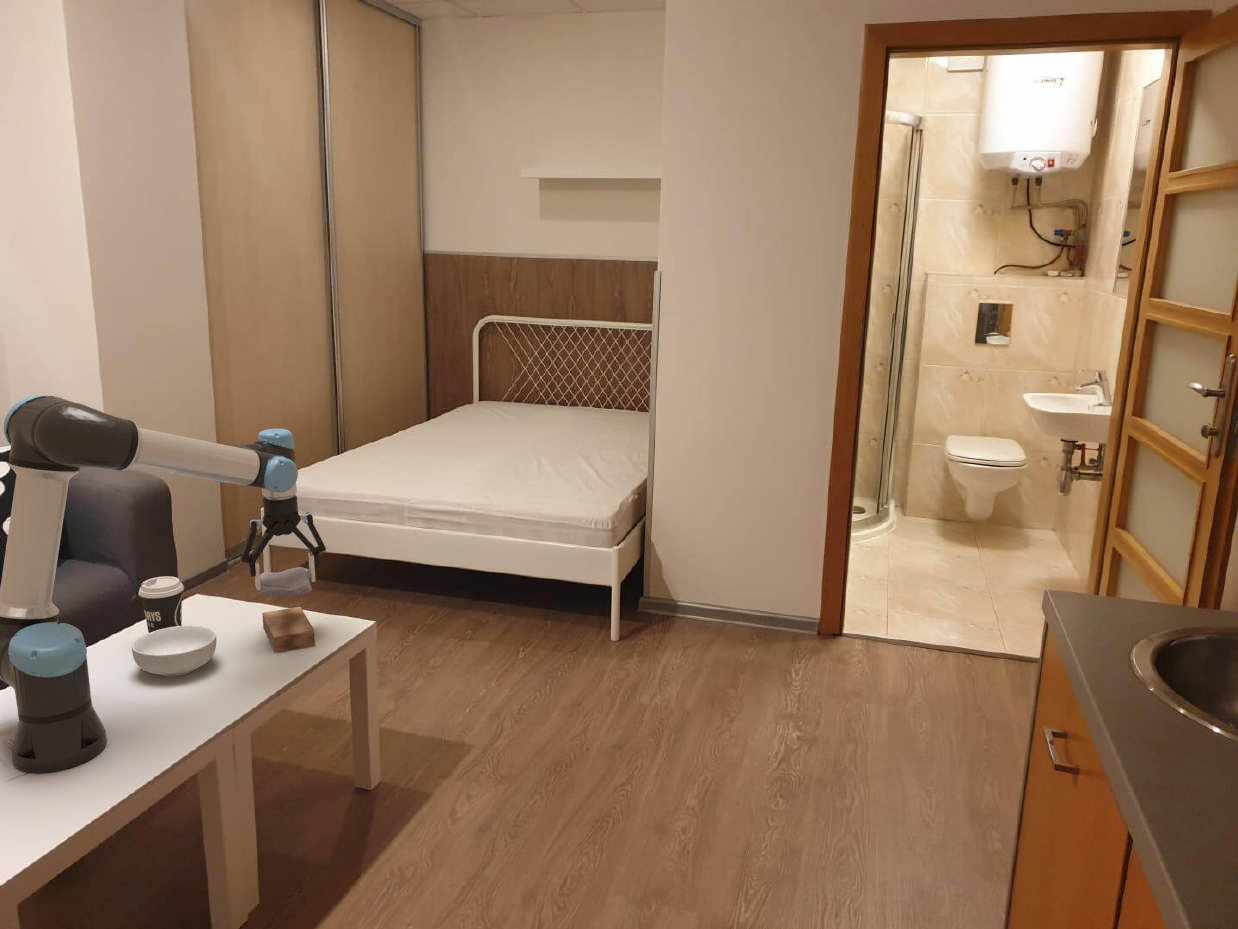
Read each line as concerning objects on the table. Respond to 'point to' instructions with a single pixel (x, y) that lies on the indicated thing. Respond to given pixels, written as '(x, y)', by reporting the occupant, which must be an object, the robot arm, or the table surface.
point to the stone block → (286, 582)
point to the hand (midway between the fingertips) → (285, 584)
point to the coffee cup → (162, 602)
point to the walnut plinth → (288, 629)
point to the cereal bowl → (174, 650)
